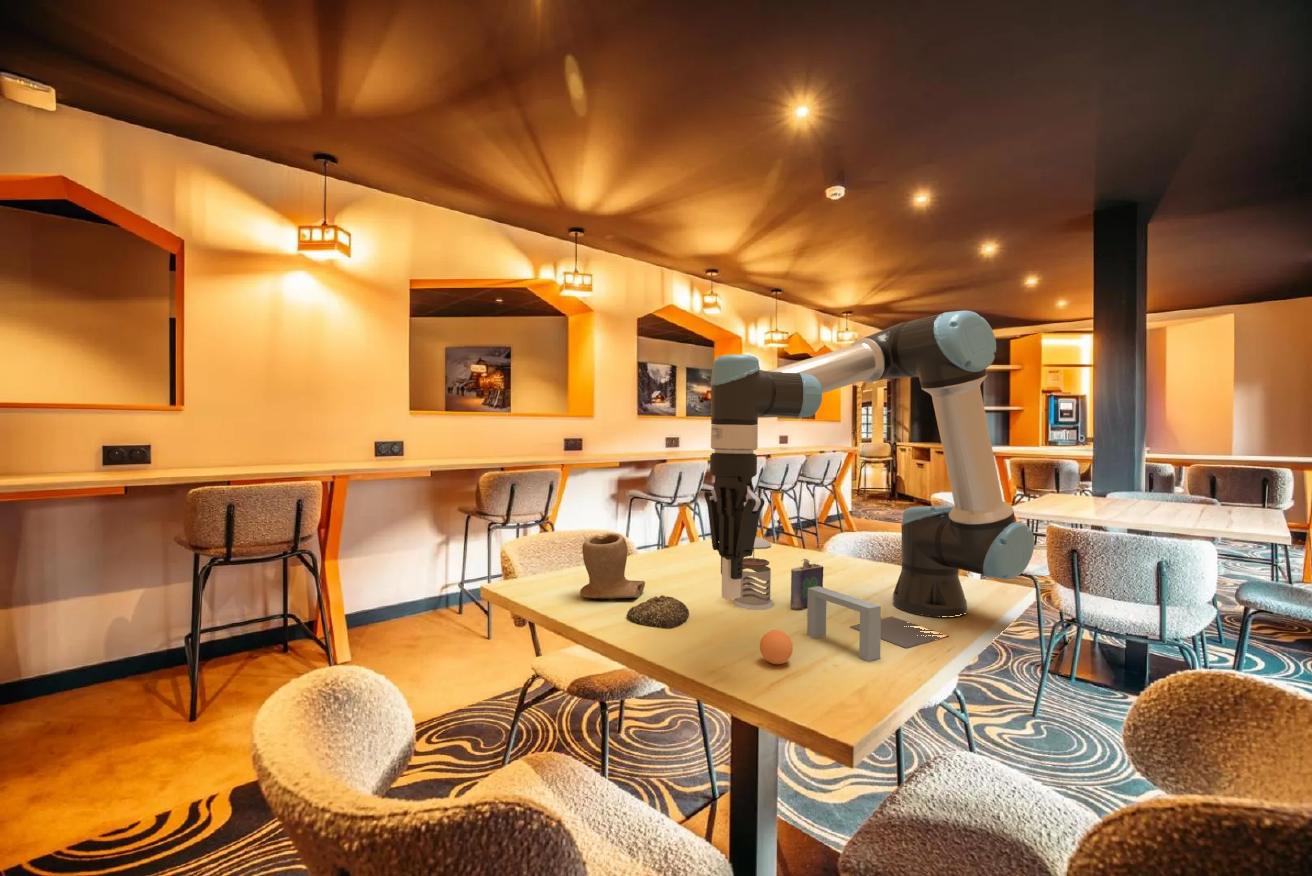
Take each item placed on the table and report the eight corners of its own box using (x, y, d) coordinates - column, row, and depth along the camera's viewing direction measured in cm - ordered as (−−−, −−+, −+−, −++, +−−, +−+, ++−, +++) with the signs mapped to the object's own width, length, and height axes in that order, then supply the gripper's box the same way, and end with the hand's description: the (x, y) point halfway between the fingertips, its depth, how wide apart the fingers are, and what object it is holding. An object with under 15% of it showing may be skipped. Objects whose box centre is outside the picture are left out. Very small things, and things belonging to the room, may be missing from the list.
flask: (796, 611, 125) (796, 562, 125) (786, 607, 128) (787, 560, 128) (825, 605, 130) (826, 558, 130) (815, 602, 132) (816, 556, 132)
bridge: (818, 632, 112) (818, 586, 112) (880, 658, 99) (881, 605, 99) (807, 635, 110) (807, 588, 110) (868, 661, 98) (869, 608, 97)
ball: (777, 654, 100) (777, 623, 100) (799, 665, 96) (799, 633, 96) (752, 660, 98) (753, 628, 98) (774, 672, 93) (775, 638, 93)
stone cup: (575, 604, 129) (576, 538, 128) (584, 590, 140) (584, 529, 140) (642, 606, 128) (642, 539, 128) (645, 591, 140) (645, 530, 140)
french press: (778, 610, 126) (780, 497, 125) (726, 609, 126) (727, 497, 126) (770, 597, 136) (771, 493, 135) (721, 596, 136) (723, 492, 135)
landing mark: (891, 617, 121) (891, 616, 121) (949, 636, 110) (949, 635, 110) (849, 627, 115) (849, 626, 115) (906, 648, 104) (906, 647, 104)
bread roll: (668, 633, 111) (669, 608, 111) (618, 621, 118) (619, 597, 118) (700, 616, 122) (700, 593, 122) (653, 606, 129) (653, 584, 129)
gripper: (691, 450, 95) (689, 590, 95) (740, 453, 84) (737, 612, 84) (727, 450, 99) (725, 585, 99) (778, 453, 88) (776, 605, 88)
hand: (730, 597), depth 92 cm, fingers closed
